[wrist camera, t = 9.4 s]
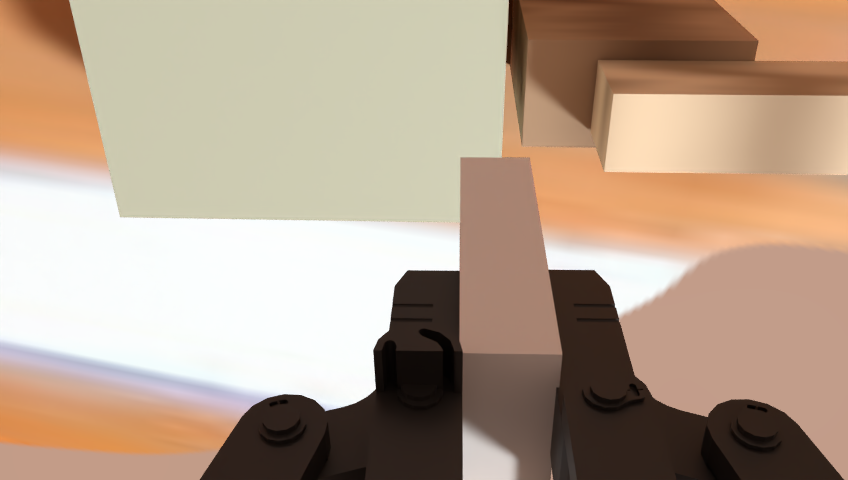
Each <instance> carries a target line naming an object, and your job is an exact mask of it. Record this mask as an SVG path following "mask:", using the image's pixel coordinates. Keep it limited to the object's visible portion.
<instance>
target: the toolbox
mask: <svg viewBox="0 0 848 480" xmlns="http://www.w3.org/2000/svg"><path fill="white" fill-rule="evenodd" d="M757 46H758V40H757V39H756V38H755V37H754V36H753V35H752V34H751V33H749V32H748V31H747V30H746V29H745V28H744V27H743V26H742V25H741V24H740V23H739V22H737V21H736V20H735V19H734V18H733V17H732V16H731V15H730V14H729V13H728V12H727V11H726V10H724V9H723V8H722V7H721V6H720V5H719V4H718V3H717V2H716V1H715V0H513V16H512V37H511V57H510V69H511V75H512V82H513V89H514V96H515V102H516V109H517V116H518V123H519V129H520V136H521V143H522V147H595V144H594V141H593V138H592V135H591V132H590V131H591V122H592V112H593V103H594V94H595V84H596V75H597V66H598V60H669V61H754V60H755V55H756V51H757Z"/></svg>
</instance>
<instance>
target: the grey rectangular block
mask: <svg viewBox="0 0 848 480" xmlns="http://www.w3.org/2000/svg"><path fill="white" fill-rule="evenodd" d="M69 2H70V6H71V10H72V15H73V19H74V23H75V27H76V32H77V36H78V40H79V44H80V49H81V53H82V57H83V61H84V65H85V70H86V74H87V78H88V82H89V87H90V91H91V95H92V99H93V104H94V108H95V112H96V116H97V121H98V125H99V129H100V133H101V138H102V142H103V146H104V150H105V155H106V159H107V163H108V167H109V172H110V176H111V180H112V184H113V189H114V193H115V197H116V201H117V206H118V210H119V214H120V217H138V218H203V219H267V220H332V221H396V222H460V157H492V158H502V139H503V117H504V95H505V73H506V52H507V30H508V8H509V0H69Z"/></svg>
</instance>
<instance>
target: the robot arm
mask: <svg viewBox="0 0 848 480" xmlns="http://www.w3.org/2000/svg"><path fill="white" fill-rule="evenodd" d="M373 352H374V367H375V382H376V390H375V391H373V392H372V393H371V394H370V395H369V396H368V397H366V398H364V399H363V400H361V401H359V402H357V403H355V404H351V405H348V406H345V407H342V408H337V409H333V410H329V411H325V410H324V408H322V407H321V406H320V405H319V404H318V403H317V402H316V401H315V400H313V399H310V398H307V397H305V396H302V395H288V394H283V395H279V396H275V397H270V398H267V399H265V400H263V401H261V402H259V403H257V404H255V405H253V406H252V407H251V408H250V409H249V410H248V411H247V412H246V413H245V414H244V415H243V416H242V417H241V419H240V420H239V422H238V423H237V425H236V426H235V428H234V429H233V431H232V432H231V434H230V435H229V437H228V438H227V440H226V441H225V443H224V444H223V446H222V447H221V449H220V450H219V452H218V453H217V455H216V456H215V458H214V459H213V461H212V462H211V464H210V465H209V467H208V468H207V470H206V471H205V473H204V474H203V476H202V477H201V479H200V480H550V478H551V468H552V474H553V480H844V479H843V478H842V477H841V476H840V474H839V473H838V472H837V471H836V470H835V468H834V467H833V466H832V465H831V464H830V462H829V461H828V460H827V459H826V458H825V457H824V455H823V454H822V453H821V452H820V450H819V449H818V448H817V447H816V446H815V444H814V443H813V442H812V441H811V440H810V438H809V437H808V436H807V435H806V434H805V432H804V431H803V430H802V429H801V428H800V426H799V425H798V424H797V423H796V422H794V421H793V420H792V419H791V418H790V417H789V416H787V414H785V413H784V412H782V411H780V410H778V409H776V408H774V407H772V406H770V405H768V404H765V403H761V402H757V401H753V400H747V399H745V400H729V401H726V402H723V403H720V404H718V405H717V406H716V407H715V408H714V409H713V410H712V411H711V412H710V413H709V415H708V417H705V416H701V415H697V414H693V413H689V412H685V411H681V410H678V409H675V408H672V407H669V406H667V405H665V404H663V403H661V402H659V401H657V400H655V399H654V398H653V397H652V395H651V393H650V392H649V390H648V388H647V386H646V385H645V384H644V383H643V382H642V381H640V380H639V379H638V378H637V377H635V375H634V372H633V368H632V365H631V361H630V357H629V354H628V350H627V346H626V343H625V339H624V336H623V332H622V328H621V325H620V322H619V318H618V314H617V310H616V308H615V303H614V300H613V296H612V292H611V289H610V286H609V285H608V284H607V283H606V282H605V281H604V280H603V279H602V278H601V277H600V276H599V275H598V274H597V273H596V271H595V270H548V265H547V259H546V253H545V247H544V241H543V235H542V229H541V223H540V217H539V211H538V205H537V199H536V193H535V187H534V181H533V175H532V169H531V163H530V158H492V157H460V271H410V270H408V271H407V272H406V273H405V274H404V276H403V277H402V278H401V279H400V280H399V282H398V283H397V284H396V285H395V289H394V297H393V307H392V312H391V322H390V328H389V331H388V332H387V333H386V334H384V335H383V336H382V337H381V338H380V339H378V341H377V343H376V346H375V348H374V350H373Z"/></svg>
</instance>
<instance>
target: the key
mask: <svg viewBox="0 0 848 480" xmlns="http://www.w3.org/2000/svg"><path fill="white" fill-rule="evenodd" d="M590 132H591V135H592V138H593V141H594V144H595V147H596V149H597V152H598V155H599V158H600V161H601V164H602V167H603V170H604V172H660V173H740V174H820V175H848V62H828V61H669V60H598V66H597V75H596V84H595V94H594V103H593V112H592V122H591V131H590Z"/></svg>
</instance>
